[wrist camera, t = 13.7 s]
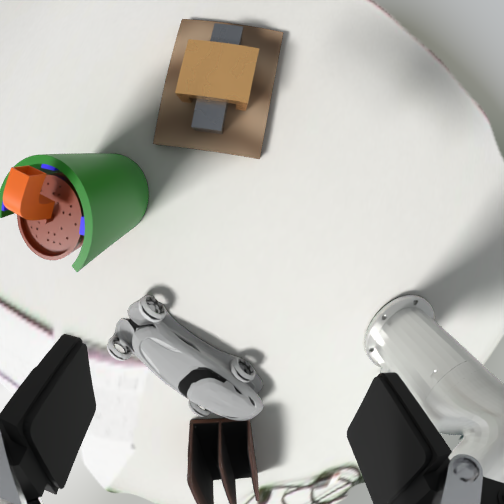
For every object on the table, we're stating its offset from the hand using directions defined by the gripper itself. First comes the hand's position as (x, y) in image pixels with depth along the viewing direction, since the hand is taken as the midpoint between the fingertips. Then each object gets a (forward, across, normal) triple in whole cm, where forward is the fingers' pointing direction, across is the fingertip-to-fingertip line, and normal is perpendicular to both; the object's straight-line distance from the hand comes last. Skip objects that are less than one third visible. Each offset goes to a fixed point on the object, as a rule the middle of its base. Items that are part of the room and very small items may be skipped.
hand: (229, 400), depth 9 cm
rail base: (+28, +4, -16) cm, 33 cm away
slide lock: (+26, +4, -16) cm, 31 cm away
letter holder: (+29, -5, +41) cm, 50 cm away
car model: (+29, +2, +21) cm, 36 cm away
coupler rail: (+27, +4, -16) cm, 31 cm away
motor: (+28, +15, -2) cm, 32 cm away
